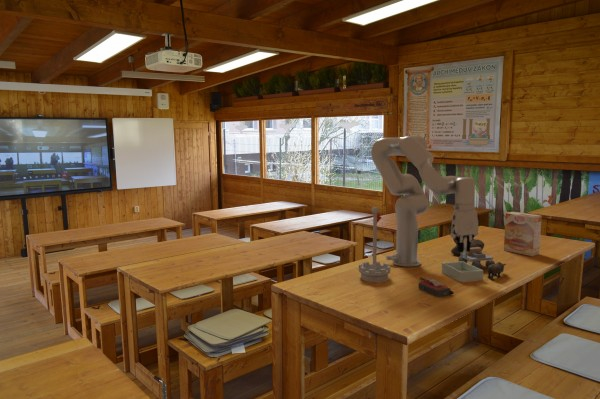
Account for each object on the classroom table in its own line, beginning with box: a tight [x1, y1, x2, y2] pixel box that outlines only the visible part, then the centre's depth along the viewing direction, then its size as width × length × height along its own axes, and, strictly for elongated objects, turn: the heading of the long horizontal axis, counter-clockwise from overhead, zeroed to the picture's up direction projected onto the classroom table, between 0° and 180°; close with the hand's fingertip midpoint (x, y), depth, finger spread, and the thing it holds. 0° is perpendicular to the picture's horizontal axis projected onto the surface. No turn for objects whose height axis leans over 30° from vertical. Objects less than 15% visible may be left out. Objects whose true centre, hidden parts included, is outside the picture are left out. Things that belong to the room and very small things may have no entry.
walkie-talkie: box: [418, 277, 455, 298], centre depth 181 cm, size 9×4×20 cm
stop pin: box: [460, 235, 467, 258], centre depth 194 cm, size 4×4×11 cm
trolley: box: [457, 247, 496, 270], centre depth 209 cm, size 11×14×8 cm
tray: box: [441, 261, 484, 283], centre depth 196 cm, size 10×14×4 cm
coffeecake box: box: [503, 211, 543, 257], centre depth 232 cm, size 15×7×20 cm, turn 37°
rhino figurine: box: [487, 261, 507, 281], centre depth 195 cm, size 4×14×6 cm, turn 133°
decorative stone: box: [450, 234, 485, 256], centre depth 232 cm, size 16×11×15 cm
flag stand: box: [358, 206, 391, 283], centre depth 193 cm, size 13×13×30 cm
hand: (463, 250), depth 194 cm, fingers closed on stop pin, 2 cm apart
